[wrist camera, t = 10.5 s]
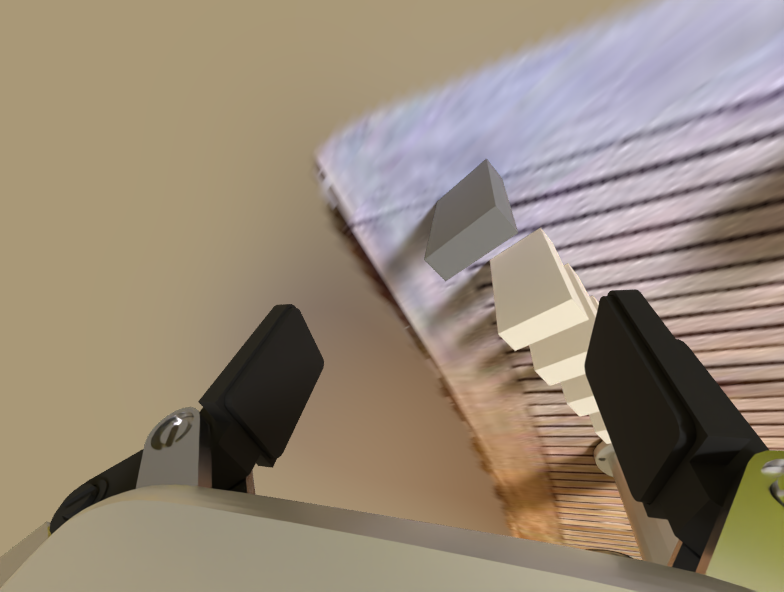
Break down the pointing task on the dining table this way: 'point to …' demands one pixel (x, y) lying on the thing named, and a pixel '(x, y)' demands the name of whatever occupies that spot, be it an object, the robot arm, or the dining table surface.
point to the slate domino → (469, 222)
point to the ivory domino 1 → (533, 292)
